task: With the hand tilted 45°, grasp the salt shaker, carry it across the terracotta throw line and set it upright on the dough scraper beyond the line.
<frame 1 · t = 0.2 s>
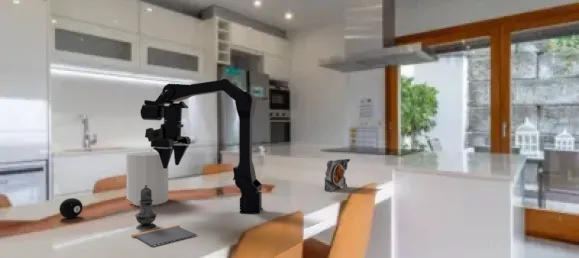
hand: (171, 166, 123), 14 cm above the kitchen island, tool pointing down, fingers open, 9 cm apart
billiard ball: (71, 218, 111), on the kitchen island
grey square flange bearing: (337, 189, 160), on the kitchen island
container: (147, 202, 135), on the kitchen island
dough scraper: (166, 236, 94), on the kitchen island
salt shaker: (146, 227, 102), on the kitchen island
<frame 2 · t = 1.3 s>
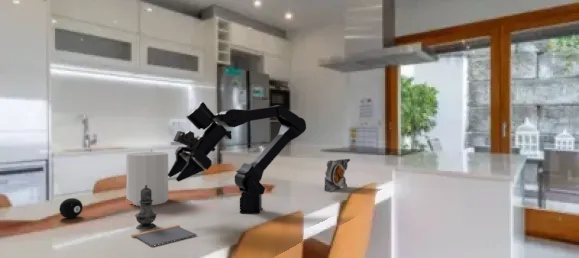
hand: (172, 178, 106), 13 cm above the kitchen island, tool tilted 45°, fingers open, 9 cm apart
nothing on the kitchen island moved.
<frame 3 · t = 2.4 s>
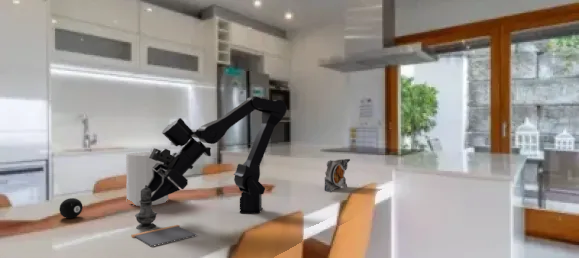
hand: (147, 197, 102), 8 cm above the kitchen island, tool tilted 45°, fingers open, 9 cm apart
nothing on the kitchen island moved.
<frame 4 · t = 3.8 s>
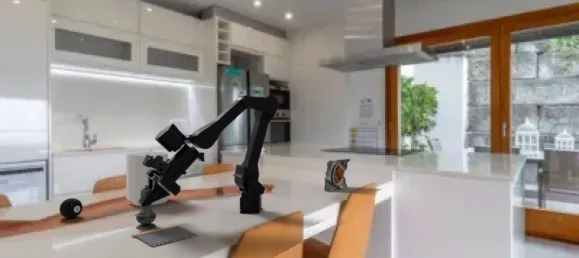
hand: (140, 204, 101), 7 cm above the kitchen island, tool tilted 45°, fingers closed on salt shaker, 4 cm apart
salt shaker: (146, 227, 102), on the kitchen island, touching gripper
everything else where it was.
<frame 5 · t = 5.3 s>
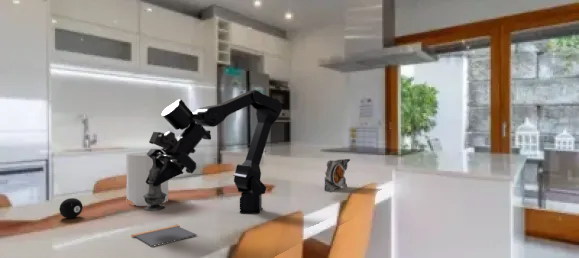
hand: (150, 184, 95), 13 cm above the kitchen island, tool tilted 45°, fingers closed on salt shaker, 4 cm apart
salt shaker: (155, 209, 97), point 6 cm above the kitchen island, touching gripper
everything else where it was.
when the fingers open (8 cm above the kitchen island, at t = 7.3 s): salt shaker drops 1 cm, resting on dough scraper.
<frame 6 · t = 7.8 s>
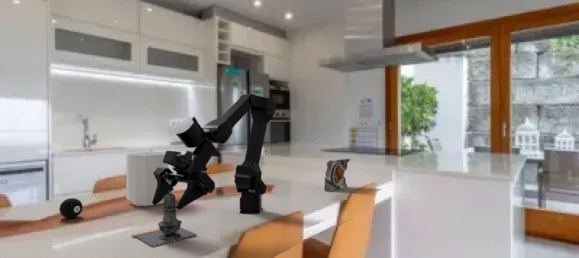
hand: (165, 206, 91), 9 cm above the kitchen island, tool tilted 45°, fingers open, 9 cm apart
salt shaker: (170, 237, 92), resting on dough scraper
everything else where it was.
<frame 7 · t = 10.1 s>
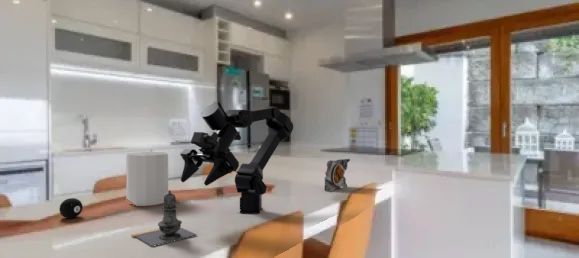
hand: (193, 183, 99), 13 cm above the kitchen island, tool tilted 45°, fingers open, 9 cm apart
nothing on the kitchen island moved.
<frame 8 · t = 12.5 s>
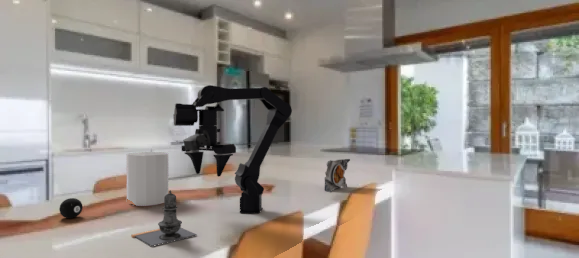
hand: (208, 175, 114), 13 cm above the kitchen island, tool pointing down, fingers open, 9 cm apart
nothing on the kitchen island moved.
at the end: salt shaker 2.0 cm from the dough scraper (horizontally); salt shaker moved 14.1 cm from its start; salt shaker tilted 0° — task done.
